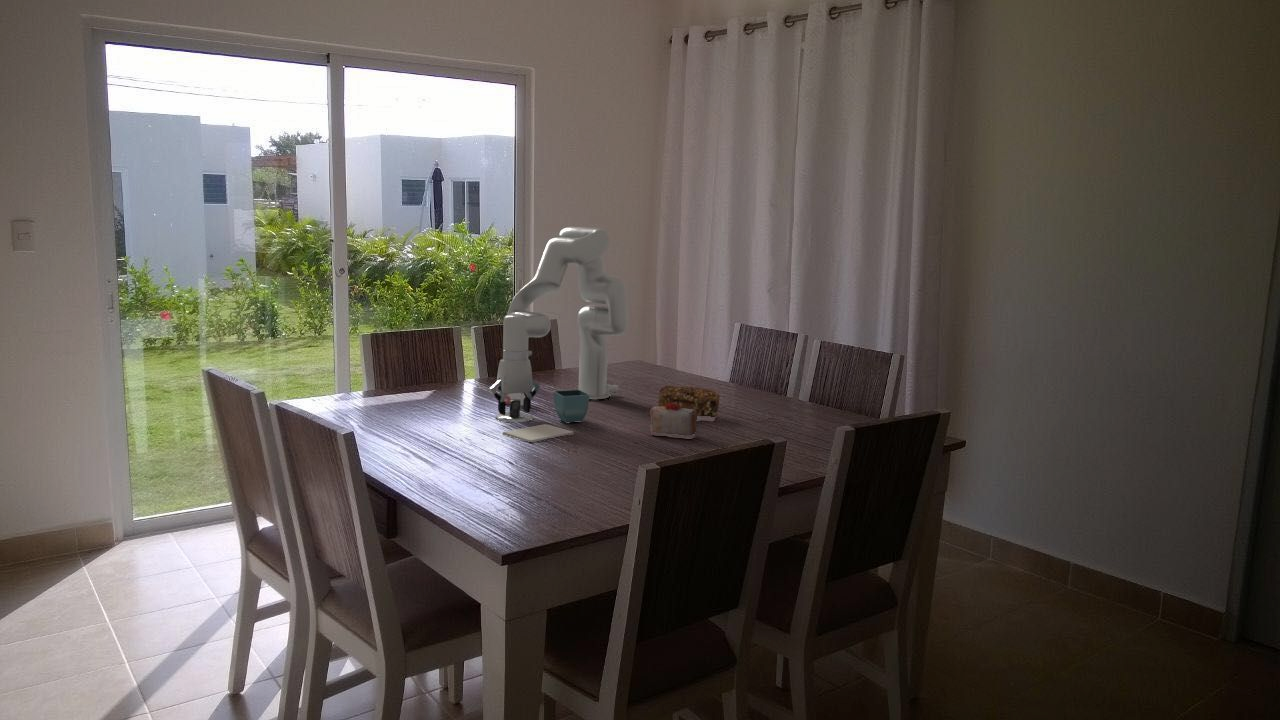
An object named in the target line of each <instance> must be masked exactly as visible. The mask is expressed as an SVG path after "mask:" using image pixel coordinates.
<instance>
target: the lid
mask: <svg viewBox="0 0 1280 720" xmlns="http://www.w3.org/2000/svg"><path fill="white" fill-rule="evenodd" d="M508 409H509V410H508V411H507V412H506V413H505V415H502V414H500V413H497V414H496V415H495V419H496V420H497V421H498V420H499V421H498V422H501V421H506V422H505V423H507V422H522V421H528V420H531V419H532V418H534V417H533V415H531V414H529V413H527V412H521V405H520V400H518V399H511V400H510V405H509V408H508ZM532 420H533V419H532ZM532 420H531V421H532ZM528 422H529V421H528Z"/></svg>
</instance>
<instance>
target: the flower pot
mask: <svg viewBox="0 0 1280 720" xmlns="http://www.w3.org/2000/svg"><path fill="white" fill-rule="evenodd" d="M552 393H553V402H554V403H553V404H554V408H555V412H556V415H557V417H558V419H559V420H560V419H561V420H562V421H561V420H560V421H561V422H563V421H564V422H575V421H582V422H583V420H584V419H585V417H586V415H587V412H588V408H589V402H590V400H589V396H590V395H589V394H587V393H585V392H583V391H581V390H578V389H566V390H553V391H552ZM564 422H563V423H564Z"/></svg>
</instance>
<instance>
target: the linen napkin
mask: <svg viewBox="0 0 1280 720" xmlns="http://www.w3.org/2000/svg"><path fill="white" fill-rule="evenodd" d="M572 432H574V431H571V430H568V429H564V428H561V427H558V426H555V425H550V424H546V423H544V424H540V425H534V426H529V427H522V428H516V429H512V430H506V431H502V435H503V436H505V435H507V437H509V436H511V437H510V438H512V437H515V438H518V439H517V440H519V439H521V440H520V441H522V440H524V441H523V442H525V441H528V442H534V443H536V442H535V441H539V440H543V439H547V438H551V437H555V436H560V435H564V434H568V433H572ZM515 438H514V439H515ZM528 442H527V443H528ZM539 442H540V441H539Z"/></svg>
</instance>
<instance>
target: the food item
mask: <svg viewBox="0 0 1280 720" xmlns="http://www.w3.org/2000/svg"><path fill="white" fill-rule="evenodd" d="M649 415H650V416H649V417H650V427H649V428H650V429H649V430H650V431H651V432H656V433H666V434H678V435H692V434H694V433H695V432H696V433H697V421H696V420H697V410H694V409H686V408H681V406H680V405H678V404H677V402H675V403H674V404H673V403H669V404H667V406H666V407H659V406H658V405H657V406H652V408H651V409H650V410H649ZM650 431H649V432H650Z"/></svg>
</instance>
